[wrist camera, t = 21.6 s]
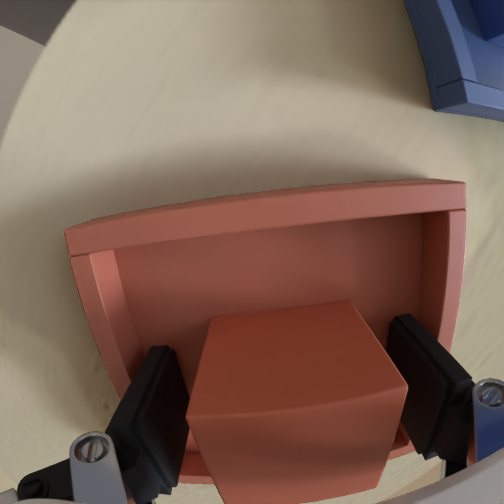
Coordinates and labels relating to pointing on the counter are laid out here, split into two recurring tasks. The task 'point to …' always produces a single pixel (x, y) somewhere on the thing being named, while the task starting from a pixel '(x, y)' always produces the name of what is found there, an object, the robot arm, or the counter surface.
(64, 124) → the counter surface
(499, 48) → the blue tray
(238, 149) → the counter surface
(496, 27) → the blue block
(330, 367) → the terracotta block
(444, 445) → the robot arm
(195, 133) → the counter surface
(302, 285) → the terracotta tray
